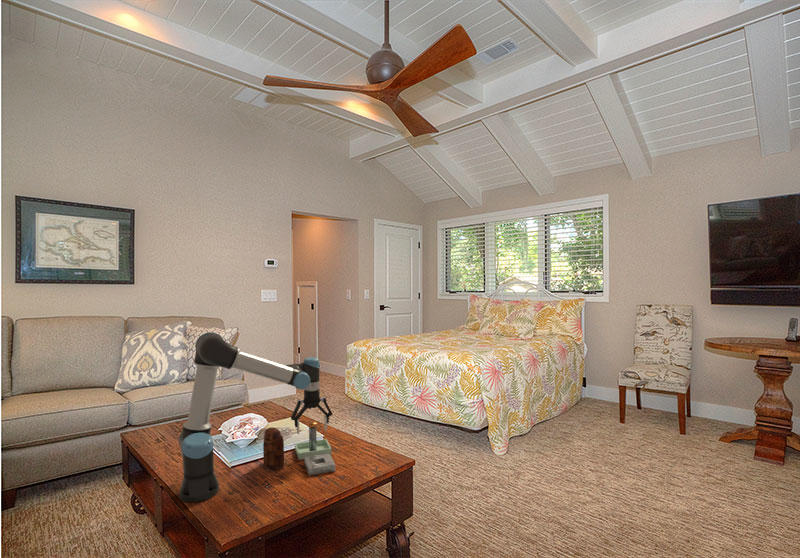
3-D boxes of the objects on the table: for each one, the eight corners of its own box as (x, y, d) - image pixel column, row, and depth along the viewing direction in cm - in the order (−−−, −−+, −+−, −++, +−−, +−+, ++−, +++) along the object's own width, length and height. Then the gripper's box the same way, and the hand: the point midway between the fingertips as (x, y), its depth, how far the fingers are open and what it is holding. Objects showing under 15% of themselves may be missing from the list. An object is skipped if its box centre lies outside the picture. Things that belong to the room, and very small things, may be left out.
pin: (308, 453, 229) (308, 425, 228) (306, 449, 234) (306, 421, 233) (319, 452, 231) (318, 424, 230) (317, 447, 236) (316, 420, 235)
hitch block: (308, 475, 209) (308, 468, 209) (304, 463, 220) (304, 457, 220) (335, 470, 213) (335, 464, 213) (329, 459, 225) (329, 453, 224)
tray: (298, 459, 224) (298, 453, 224) (294, 449, 235) (294, 443, 235) (331, 454, 230) (331, 448, 230) (326, 444, 241) (326, 438, 241)
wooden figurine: (258, 466, 218) (257, 428, 216) (267, 460, 224) (266, 424, 222) (278, 471, 213) (277, 433, 211) (287, 465, 219) (286, 428, 217)
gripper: (286, 394, 222) (287, 437, 224) (338, 388, 231) (338, 430, 233) (284, 389, 229) (285, 431, 231) (335, 384, 238) (335, 425, 240)
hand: (311, 431), depth 232 cm, fingers open, 13 cm apart
